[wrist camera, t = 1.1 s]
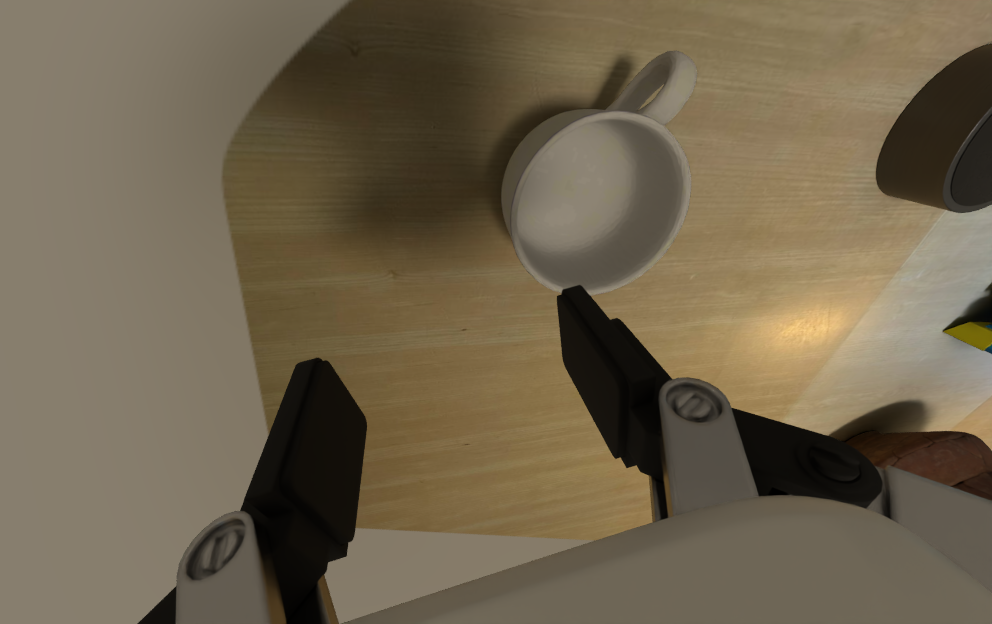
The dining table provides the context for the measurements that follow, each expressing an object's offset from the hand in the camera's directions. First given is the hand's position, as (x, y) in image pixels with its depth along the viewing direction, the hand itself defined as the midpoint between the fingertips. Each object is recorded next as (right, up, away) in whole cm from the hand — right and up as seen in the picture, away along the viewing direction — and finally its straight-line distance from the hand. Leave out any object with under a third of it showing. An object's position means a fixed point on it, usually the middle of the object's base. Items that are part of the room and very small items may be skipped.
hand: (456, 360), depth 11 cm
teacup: (+7, +13, +15) cm, 21 cm away
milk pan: (+45, +17, +22) cm, 53 cm away
